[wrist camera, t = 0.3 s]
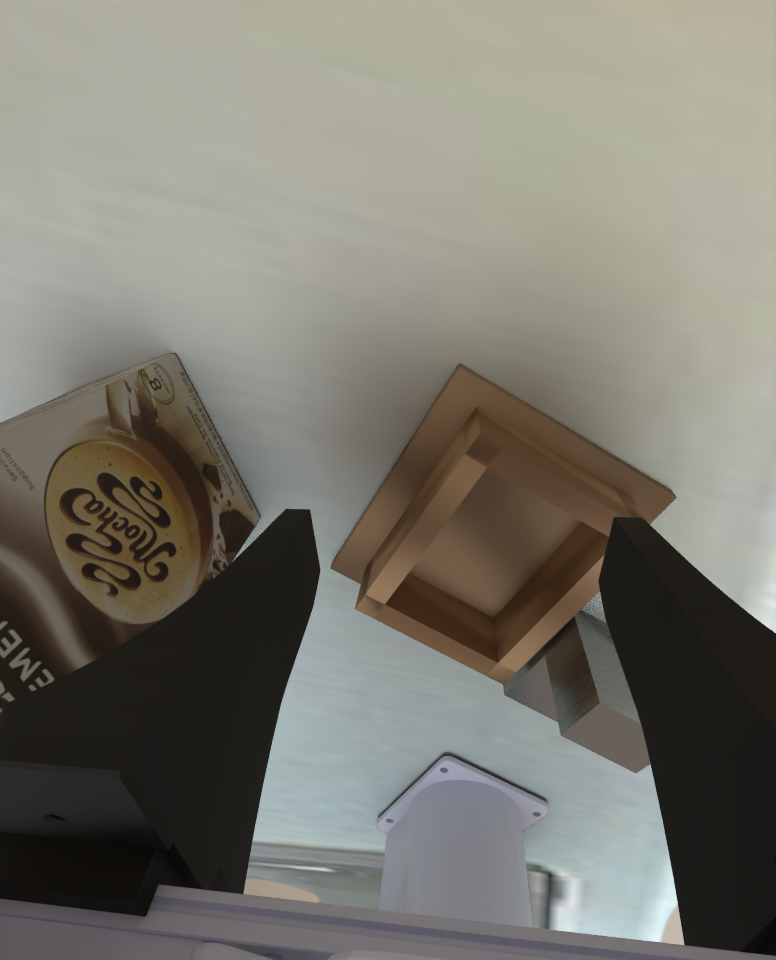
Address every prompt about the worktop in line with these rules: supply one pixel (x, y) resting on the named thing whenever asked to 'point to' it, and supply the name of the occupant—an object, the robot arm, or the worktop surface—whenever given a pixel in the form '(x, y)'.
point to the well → (490, 528)
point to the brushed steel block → (584, 691)
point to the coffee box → (109, 519)
